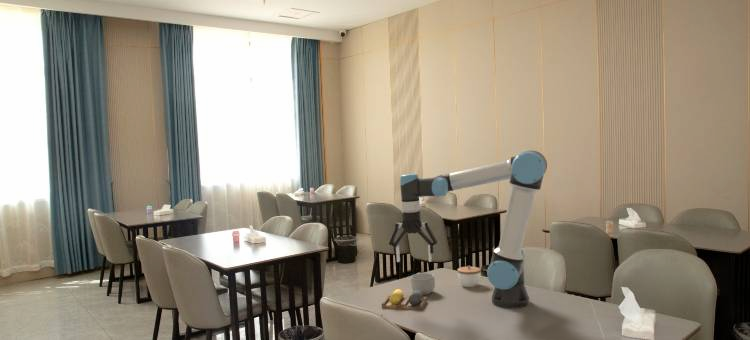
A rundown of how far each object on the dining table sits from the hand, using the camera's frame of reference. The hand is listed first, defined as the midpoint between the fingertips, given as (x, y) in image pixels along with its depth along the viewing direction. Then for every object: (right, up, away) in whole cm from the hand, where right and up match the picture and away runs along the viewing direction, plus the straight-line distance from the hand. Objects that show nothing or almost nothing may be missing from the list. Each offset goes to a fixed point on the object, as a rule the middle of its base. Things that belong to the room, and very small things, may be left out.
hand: (414, 261), depth 221 cm
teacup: (+5, -18, +20) cm, 27 cm away
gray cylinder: (+1, -16, +1) cm, 16 cm away
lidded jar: (+28, -16, +27) cm, 42 cm away
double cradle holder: (-4, -19, +2) cm, 19 cm away
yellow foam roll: (-7, -16, +4) cm, 18 cm away
